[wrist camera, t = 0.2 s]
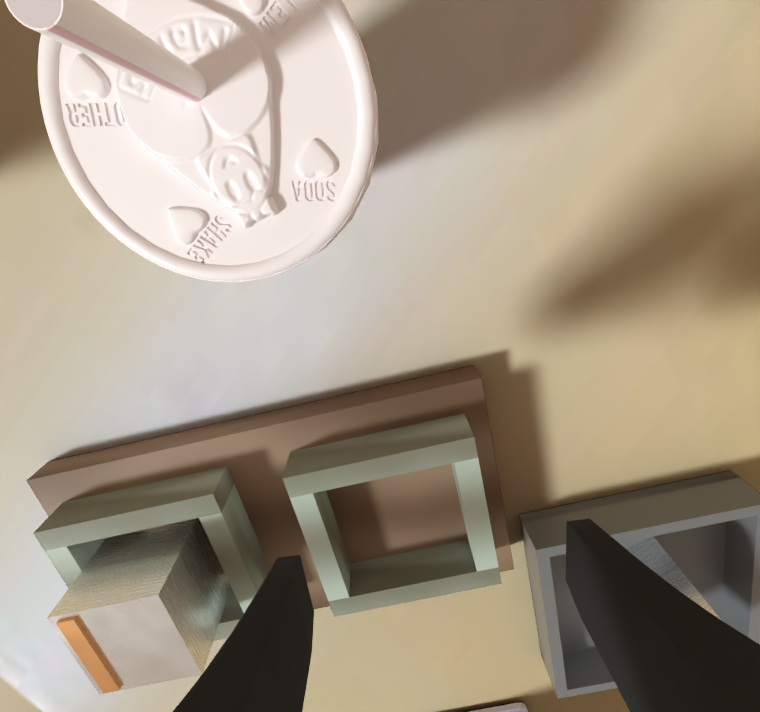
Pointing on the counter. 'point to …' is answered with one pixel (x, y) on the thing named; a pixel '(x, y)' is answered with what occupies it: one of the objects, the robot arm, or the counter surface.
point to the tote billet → (667, 569)
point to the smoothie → (209, 125)
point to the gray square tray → (676, 536)
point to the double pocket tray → (308, 495)
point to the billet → (144, 607)
